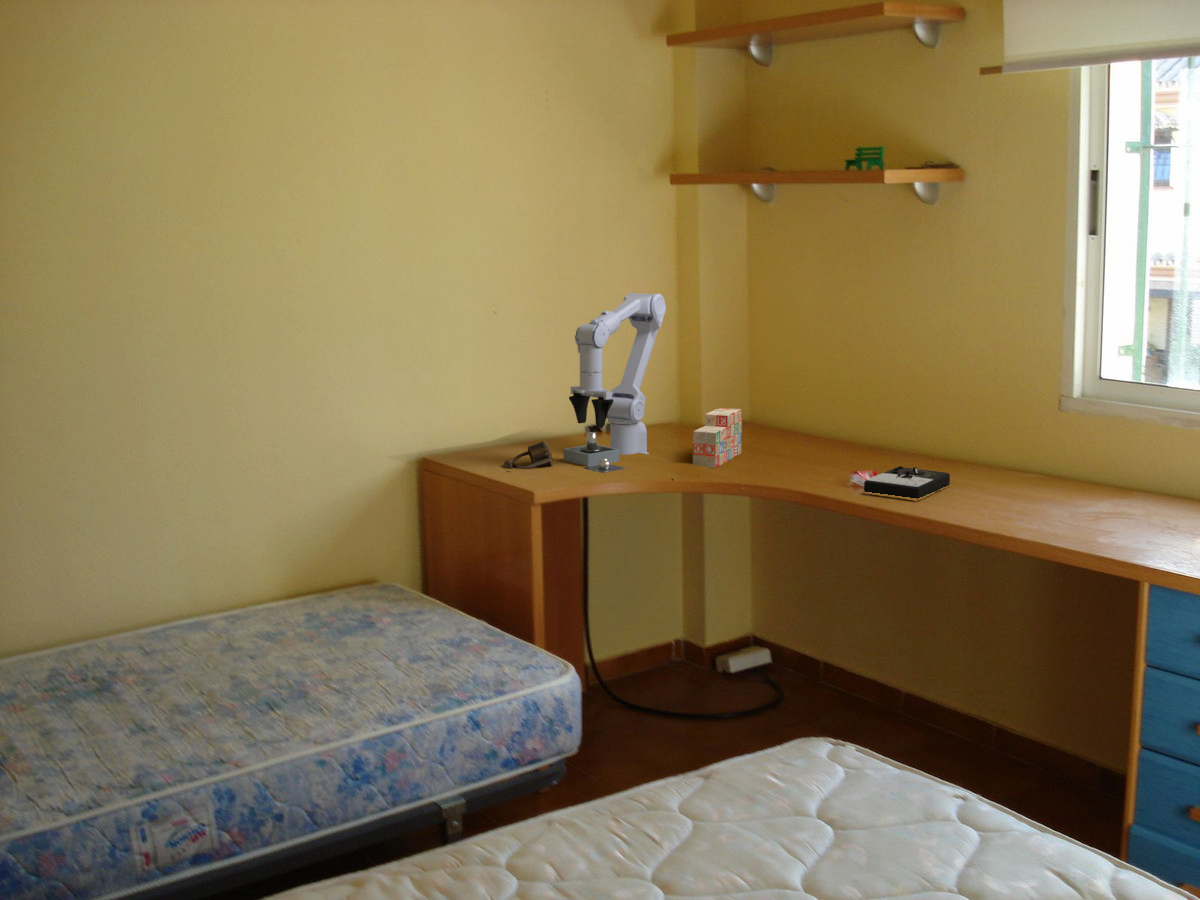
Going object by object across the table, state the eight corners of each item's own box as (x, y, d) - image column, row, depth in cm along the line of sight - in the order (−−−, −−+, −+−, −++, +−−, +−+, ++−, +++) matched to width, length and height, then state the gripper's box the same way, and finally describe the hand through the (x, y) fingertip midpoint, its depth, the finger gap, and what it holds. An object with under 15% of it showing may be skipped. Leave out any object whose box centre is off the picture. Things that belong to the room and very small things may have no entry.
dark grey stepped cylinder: (576, 461, 317) (576, 432, 316) (596, 459, 320) (595, 430, 319) (587, 465, 312) (586, 435, 311) (607, 463, 315) (606, 433, 314)
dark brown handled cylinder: (553, 453, 304) (558, 437, 313) (501, 448, 305) (508, 432, 314) (551, 479, 307) (556, 463, 316) (500, 474, 308) (507, 458, 317)
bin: (594, 458, 323) (594, 443, 323) (619, 464, 316) (619, 449, 315) (563, 464, 317) (563, 448, 316) (588, 470, 309) (588, 454, 309)
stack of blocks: (715, 469, 310) (716, 420, 308) (692, 467, 313) (692, 419, 310) (741, 453, 329) (742, 408, 327) (719, 452, 332) (719, 407, 330)
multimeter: (950, 488, 288) (951, 467, 287) (917, 503, 273) (918, 481, 272) (897, 481, 296) (898, 460, 295) (862, 495, 281) (863, 474, 280)
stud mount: (606, 467, 312) (606, 453, 312) (627, 472, 306) (627, 458, 306) (582, 471, 307) (581, 457, 307) (602, 476, 301) (602, 462, 301)
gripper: (561, 370, 315) (561, 422, 317) (596, 375, 303) (596, 429, 306) (582, 368, 319) (582, 420, 321) (618, 373, 308) (618, 427, 310)
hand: (590, 424), depth 314 cm, fingers open, 7 cm apart
